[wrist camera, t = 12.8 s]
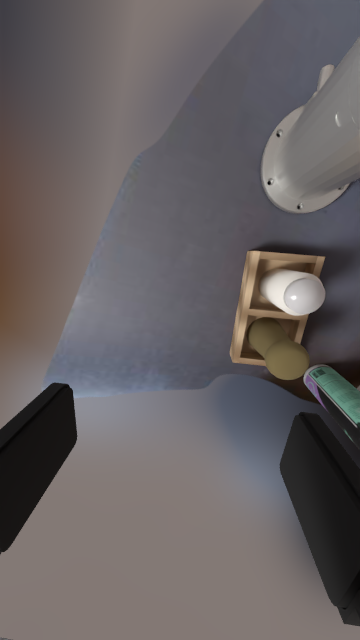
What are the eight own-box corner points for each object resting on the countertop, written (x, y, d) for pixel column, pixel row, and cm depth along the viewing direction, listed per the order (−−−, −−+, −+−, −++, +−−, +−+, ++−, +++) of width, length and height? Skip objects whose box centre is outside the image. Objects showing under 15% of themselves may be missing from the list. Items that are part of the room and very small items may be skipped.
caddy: (247, 251, 33) (253, 250, 29) (311, 256, 32) (325, 256, 29) (229, 352, 38) (232, 362, 35) (284, 358, 38) (293, 368, 34)
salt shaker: (261, 266, 32) (288, 272, 23) (295, 269, 32) (337, 276, 23) (255, 299, 34) (278, 316, 24) (287, 302, 34) (323, 321, 24)
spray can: (297, 384, 39) (393, 506, 20) (312, 360, 37) (432, 469, 18) (324, 393, 39) (444, 523, 20) (340, 369, 38) (487, 487, 19)
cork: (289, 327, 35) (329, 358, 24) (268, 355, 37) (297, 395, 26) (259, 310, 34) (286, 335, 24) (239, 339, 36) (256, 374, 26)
